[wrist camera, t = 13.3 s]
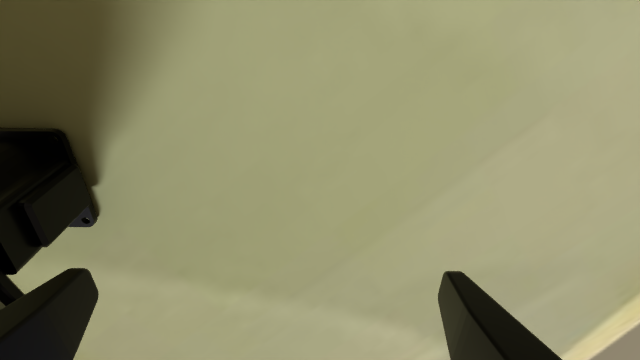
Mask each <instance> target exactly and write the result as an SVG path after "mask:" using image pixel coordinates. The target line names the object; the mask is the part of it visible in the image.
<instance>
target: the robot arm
mask: <svg viewBox="0 0 640 360" xmlns="http://www.w3.org/2000/svg"><path fill="white" fill-rule="evenodd" d="M53 136H54V137H56V138H57V139H58V141H57V140H55V139H54V138H53ZM86 218H88V219H89V220H88V219H86ZM96 221H97V215H96V213H95V210H94V207H93V205H92V202H91V199H90V196H89V194H88V191H87V188H86V186H85V183H84V181H83V178H82V175H81V173H80V170H79V168H78V165H77V163H76V160H75V157H74V155H73V152H72V150H71V147H70V144H69V142H68V139H67V137H66V135H65V134H64V133H63V132H62V131H60V130H59V129H36V128H0V360H73V358H74V356H75V354H76V352H77V349H78V347H79V345H80V342H81V340H82V337H83V335H84V332H85V330H86V327H87V325H88V322H89V320H90V318H91V315H92V313H93V310H94V308H95V305H96V303H97V300H98V289H97V287H96V285H95V282H94V280H93V278H92V276H91V273H90V271H89V270H87V269H85V268H71V269H67V270H66V271H64V272H62V273H61V274H59V275H57V276H56V277H54V278H52V279H51V280H49V281H47V282H46V283H44V284H42V285H41V286H39V287H37V288H36V289H34V290H32V291H31V292H29V293H27V294H24V293H23V292H22V291H21V290H20V289H19V288H18V287H17V286H16V285H15V284H14V283H13V282H12V281H11V279H10V278H9V277H8V276H7V275H14V274H16V273H17V272H18V271H19V270H20V269H21V268H22V267H23V266H24V265H25V264H26V263H27V262H28V261H29V260H30V259H31V258H32V257H33V256H34V255H35V254H36V253H37V252H38V251H39V250H40V249H41V248H42V247H48V246H49V245H50V244H51V243H52V242H53V241H54V240H55V239H56V238H57V237H58V236H59V235H60V234H61V233H62V232H63V231H64V230H65V229H66V228H67V227H91V226H93V225H94V224H95V223H96ZM438 303H439V307H440V312H441V317H442V322H443V326H444V331H445V336H446V340H447V345H448V350H449V354H450V359H451V360H562V359H561V358H560V357H559V356H557V355H556V354H555V353H554V352H553V351H552V350H551V349H549V348H548V347H547V346H546V345H545V344H544V343H543V342H542V341H540V340H539V339H538V338H537V337H536V336H535V335H534V334H532V333H531V332H530V331H529V330H528V329H527V328H526V327H524V326H523V325H522V324H521V323H520V322H519V321H518V320H516V319H515V318H514V317H513V316H512V315H511V314H510V313H508V312H507V311H506V310H505V309H504V308H503V307H502V306H500V305H499V304H498V303H497V302H496V301H495V300H494V299H493V298H491V297H490V296H489V295H488V294H487V293H486V292H485V291H483V290H482V289H481V288H480V287H479V286H478V285H477V284H475V283H474V282H473V281H472V280H471V279H470V278H469V277H467V276H466V275H465V274H464V273H463V272H460V271H446V272H445V273H444V274H443V277H442V281H441V285H440V289H439V293H438Z"/></svg>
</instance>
